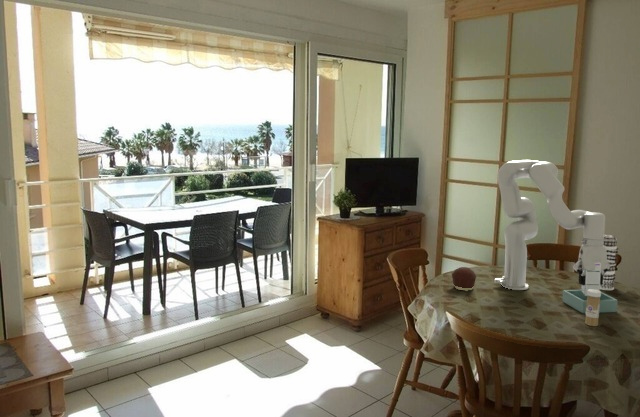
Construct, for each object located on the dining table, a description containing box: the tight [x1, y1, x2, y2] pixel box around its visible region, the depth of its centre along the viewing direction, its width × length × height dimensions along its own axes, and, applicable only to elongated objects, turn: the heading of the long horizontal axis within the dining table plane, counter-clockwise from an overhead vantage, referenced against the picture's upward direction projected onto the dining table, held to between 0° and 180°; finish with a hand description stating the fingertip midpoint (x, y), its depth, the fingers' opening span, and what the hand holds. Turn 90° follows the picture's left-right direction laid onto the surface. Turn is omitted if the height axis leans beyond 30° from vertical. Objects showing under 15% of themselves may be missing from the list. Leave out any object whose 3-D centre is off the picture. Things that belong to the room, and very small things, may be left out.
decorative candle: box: [600, 234, 619, 291], centre depth 235 cm, size 9×9×25 cm
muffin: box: [451, 266, 477, 288], centre depth 237 cm, size 12×11×10 cm
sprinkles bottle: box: [584, 289, 602, 327], centre depth 191 cm, size 5×5×14 cm
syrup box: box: [580, 262, 601, 296], centre depth 209 cm, size 6×6×14 cm
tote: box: [562, 289, 618, 314], centre depth 211 cm, size 15×15×5 cm
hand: (590, 283), depth 210 cm, fingers closed on syrup box, 6 cm apart
